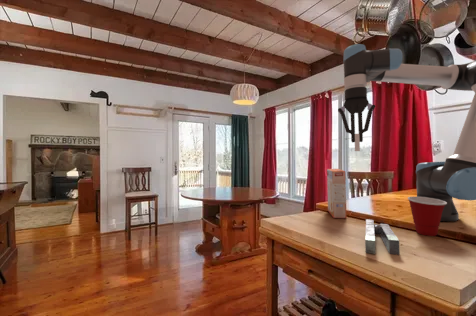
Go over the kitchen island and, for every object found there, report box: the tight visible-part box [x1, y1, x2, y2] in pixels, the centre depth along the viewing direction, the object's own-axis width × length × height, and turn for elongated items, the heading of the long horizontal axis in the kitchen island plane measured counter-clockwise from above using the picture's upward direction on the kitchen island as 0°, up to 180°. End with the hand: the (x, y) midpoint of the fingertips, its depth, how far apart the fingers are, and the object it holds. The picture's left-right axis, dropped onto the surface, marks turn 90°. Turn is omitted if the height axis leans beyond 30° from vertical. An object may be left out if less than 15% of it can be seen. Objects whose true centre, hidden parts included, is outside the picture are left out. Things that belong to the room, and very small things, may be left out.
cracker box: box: [326, 168, 347, 219], centre depth 113 cm, size 14×6×21 cm, turn 168°
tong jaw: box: [364, 218, 377, 254], centre depth 80 cm, size 2×22×4 cm, turn 152°
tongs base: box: [374, 223, 400, 256], centre depth 79 cm, size 5×20×4 cm, turn 158°
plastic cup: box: [407, 196, 447, 237], centre depth 84 cm, size 11×11×12 cm
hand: (357, 150), depth 92 cm, fingers closed
